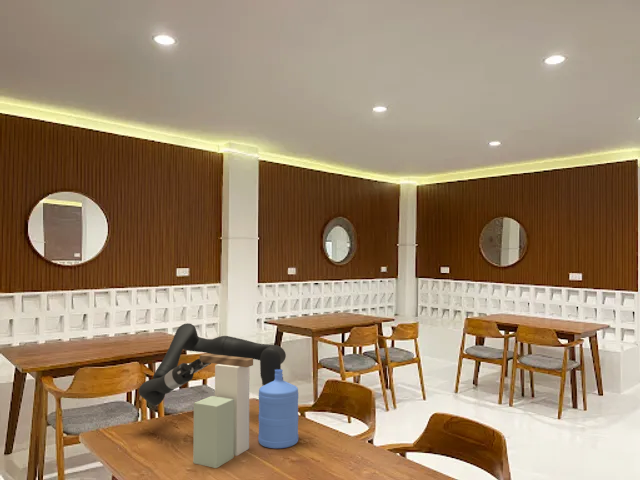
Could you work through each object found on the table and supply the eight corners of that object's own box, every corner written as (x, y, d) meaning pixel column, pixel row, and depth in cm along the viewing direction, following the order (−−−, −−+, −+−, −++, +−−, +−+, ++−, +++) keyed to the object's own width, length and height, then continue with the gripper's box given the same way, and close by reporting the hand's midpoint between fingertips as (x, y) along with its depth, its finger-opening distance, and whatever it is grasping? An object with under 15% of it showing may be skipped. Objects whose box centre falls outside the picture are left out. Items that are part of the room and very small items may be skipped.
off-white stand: (214, 451, 191) (215, 365, 191) (227, 444, 198) (227, 361, 199) (236, 455, 186) (237, 367, 187) (249, 448, 193) (249, 363, 194)
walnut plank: (199, 361, 197) (199, 355, 197) (206, 359, 201) (206, 353, 201) (247, 367, 188) (247, 360, 188) (253, 365, 191) (253, 358, 191)
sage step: (193, 463, 180) (193, 402, 180) (211, 453, 189) (211, 395, 189) (216, 468, 175) (216, 406, 176) (233, 457, 184) (233, 399, 185)
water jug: (292, 450, 191) (292, 375, 192) (252, 447, 194) (253, 373, 195) (302, 436, 206) (302, 366, 207) (265, 433, 210) (265, 364, 210)
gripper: (162, 371, 199) (191, 353, 193) (187, 364, 211) (214, 347, 205) (169, 389, 197) (199, 371, 191) (194, 381, 210) (222, 364, 204)
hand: (207, 358), depth 198 cm, fingers open, 8 cm apart
